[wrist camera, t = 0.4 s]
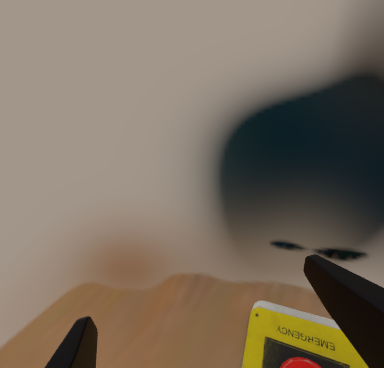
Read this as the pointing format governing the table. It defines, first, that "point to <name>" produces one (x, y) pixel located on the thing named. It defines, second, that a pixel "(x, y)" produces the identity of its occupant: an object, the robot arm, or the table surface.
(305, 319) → the emergency button
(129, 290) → the table surface
